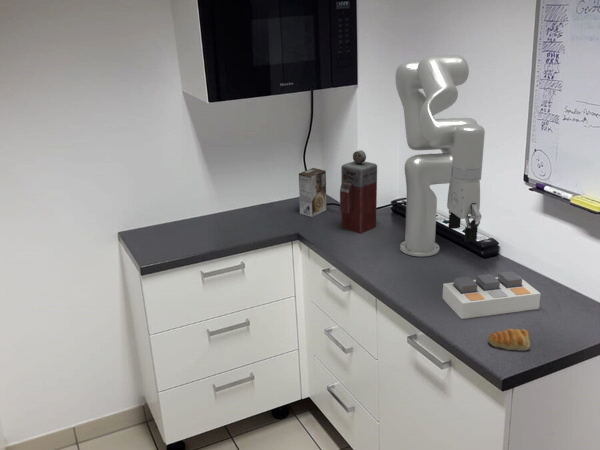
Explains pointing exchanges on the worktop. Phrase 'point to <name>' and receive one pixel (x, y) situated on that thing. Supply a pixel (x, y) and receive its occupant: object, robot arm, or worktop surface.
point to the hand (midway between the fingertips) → (462, 234)
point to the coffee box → (312, 192)
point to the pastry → (510, 339)
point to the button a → (465, 285)
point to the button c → (509, 279)
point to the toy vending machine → (358, 194)
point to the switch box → (491, 300)
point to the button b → (487, 282)
